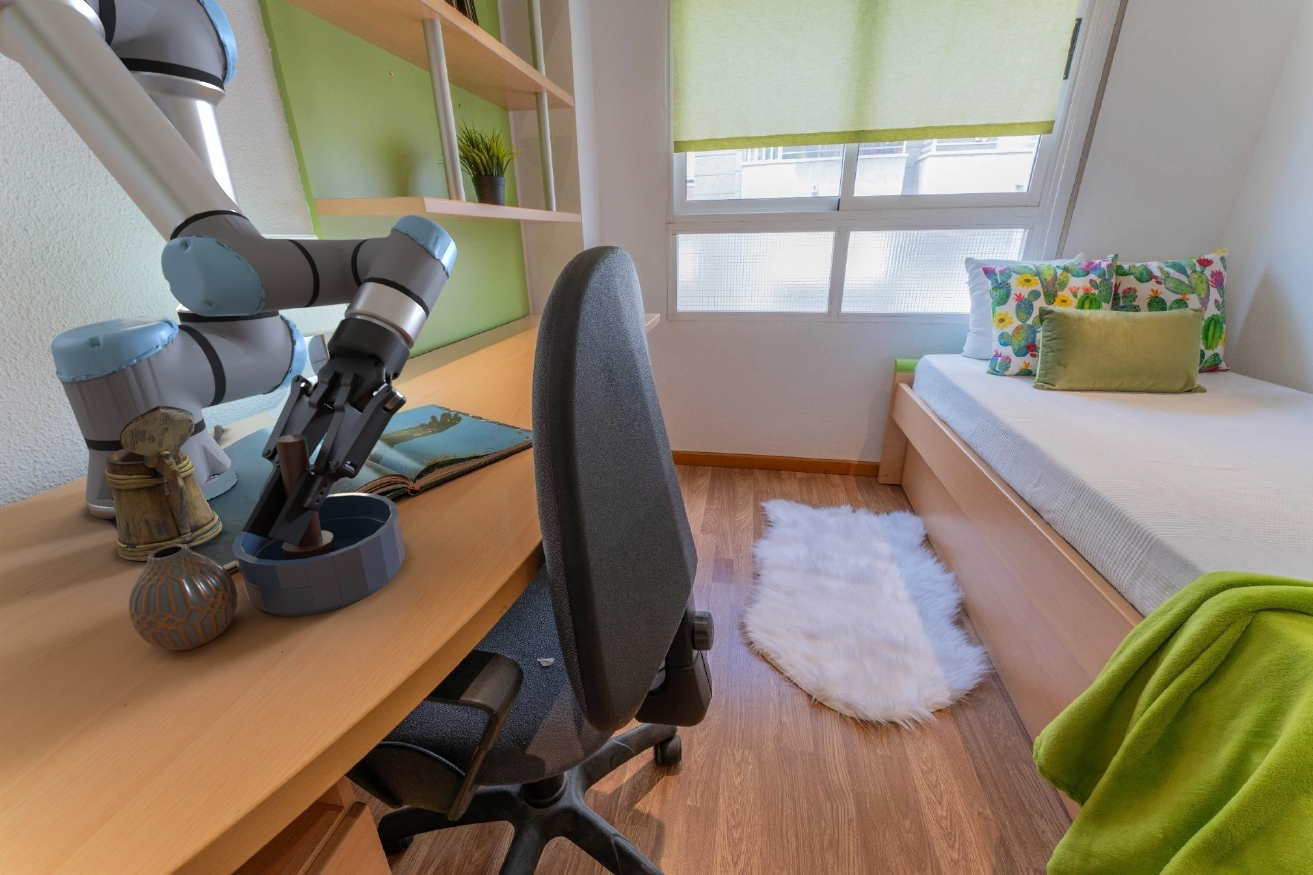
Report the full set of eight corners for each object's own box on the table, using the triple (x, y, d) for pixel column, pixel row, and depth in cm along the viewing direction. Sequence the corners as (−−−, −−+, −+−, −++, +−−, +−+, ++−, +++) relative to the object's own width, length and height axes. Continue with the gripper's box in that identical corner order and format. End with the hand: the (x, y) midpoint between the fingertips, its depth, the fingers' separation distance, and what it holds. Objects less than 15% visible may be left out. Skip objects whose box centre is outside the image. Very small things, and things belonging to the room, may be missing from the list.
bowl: (233, 573, 55) (217, 524, 53) (375, 524, 65) (367, 481, 63) (270, 641, 46) (253, 584, 44) (428, 572, 56) (421, 523, 54)
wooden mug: (158, 584, 53) (95, 418, 47) (106, 547, 59) (44, 395, 53) (255, 544, 60) (213, 395, 54) (200, 514, 67) (156, 378, 60)
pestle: (282, 574, 54) (255, 437, 49) (329, 558, 57) (308, 428, 52) (297, 591, 51) (270, 449, 47) (345, 573, 55) (325, 438, 50)
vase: (263, 610, 50) (239, 530, 47) (203, 664, 43) (170, 576, 40) (193, 607, 50) (164, 528, 47) (122, 662, 43) (83, 574, 40)
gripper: (454, 360, 59) (363, 562, 50) (346, 350, 63) (243, 535, 54) (415, 318, 53) (302, 542, 44) (297, 310, 57) (171, 513, 48)
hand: (270, 537), depth 49 cm, fingers closed on pestle, 2 cm apart
